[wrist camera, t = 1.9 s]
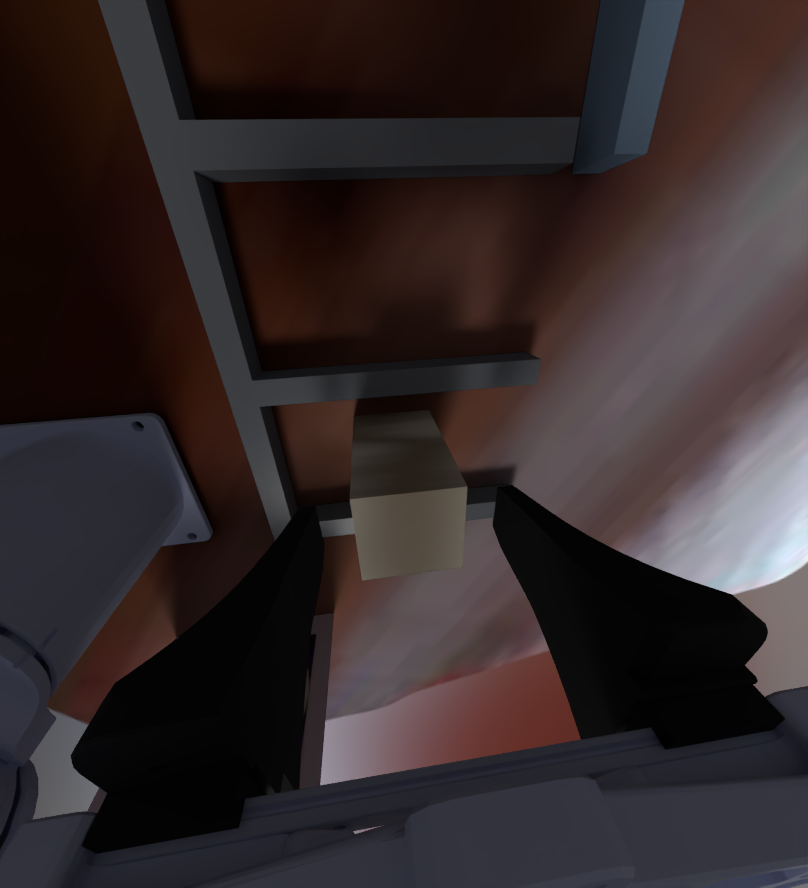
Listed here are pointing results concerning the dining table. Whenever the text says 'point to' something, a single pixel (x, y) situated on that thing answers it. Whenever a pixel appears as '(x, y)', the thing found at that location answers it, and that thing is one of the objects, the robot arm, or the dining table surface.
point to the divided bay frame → (364, 157)
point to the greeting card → (312, 706)
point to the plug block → (405, 496)
